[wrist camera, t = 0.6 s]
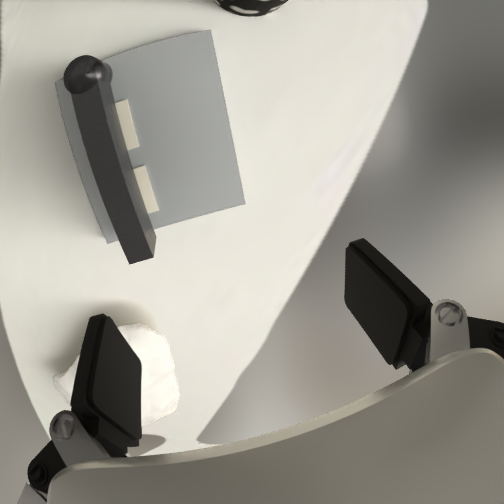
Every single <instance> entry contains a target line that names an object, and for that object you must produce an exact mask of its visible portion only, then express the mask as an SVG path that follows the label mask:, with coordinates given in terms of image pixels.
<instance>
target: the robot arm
mask: <svg viewBox="0 0 504 504" xmlns="http://www.w3.org/2000/svg"><path fill="white" fill-rule="evenodd" d="M345 259H346V261H345V296H344V298H345V303H346V305H347V307H348V309H349V310H350V311H351V313H352V314H353V315H354V317H355V318H356V320H357V321H358V322H359V324H360V325H361V327H362V328H363V329H364V331H365V332H366V334H367V335H368V336H369V338H370V339H371V341H372V342H373V343H374V345H375V346H376V348H377V349H378V351H379V352H380V353H381V355H382V356H383V358H384V359H385V361H386V362H387V363H388V364H389V365H391V364H392V365H393V366H394V368H395V369H396V370H397V369H398V368H400V367H402V366H404V365H407V366H408V368H409V369H410V371H409V375H407V376H405V377H403V378H402V379H400V380H398V381H396V382H394V383H392V384H390V385H388V386H386V387H384V388H382V389H380V390H378V391H376V392H374V393H372V394H370V395H368V396H366V397H364V398H361V399H359V400H357V401H355V402H353V403H351V404H348V405H346V406H343V407H341V408H339V409H337V410H334V411H332V412H329V413H326V414H324V415H321V416H319V417H316V418H313V419H311V420H308V421H305V422H302V423H299V424H296V425H294V426H290V427H287V428H285V429H281V430H278V431H275V432H271V433H268V434H264V435H260V436H257V437H253V438H249V439H245V440H241V441H238V442H233V443H228V444H223V445H219V446H214V447H208V448H203V449H197V450H191V451H184V452H177V453H169V454H160V455H150V456H138V457H131V456H130V455H129V454H128V453H127V447H136V446H139V439H141V437H142V426H141V378H142V364H141V361H140V359H139V357H138V356H137V355H136V353H135V352H134V351H133V349H132V348H131V346H130V345H129V344H128V342H127V341H126V339H125V338H124V337H123V335H122V334H121V332H120V331H119V329H118V328H117V326H116V325H115V323H114V322H113V320H112V319H111V318H110V317H109V316H106V315H105V314H99V315H95V316H92V317H90V319H89V322H88V326H87V329H86V333H85V337H84V340H83V344H82V348H81V352H80V357H79V361H78V366H77V370H76V375H75V380H74V385H73V391H72V396H71V402H70V406H71V407H72V408H71V411H69V410H64V411H60V412H59V413H57V414H56V415H55V416H54V417H53V419H52V421H51V423H50V428H49V431H50V436H51V439H52V440H51V441H50V442H49V443H48V444H47V445H46V446H45V447H44V448H43V449H42V451H40V453H39V454H38V455H37V456H36V457H35V458H34V459H33V460H32V461H31V463H30V464H29V467H28V479H29V482H30V484H29V483H26V485H25V487H24V489H23V491H22V494H21V496H20V498H19V501H18V503H17V504H504V323H501V322H497V321H491V320H485V319H478V318H474V317H468V316H467V314H466V311H465V309H464V308H463V307H462V305H460V304H459V303H458V302H456V301H454V300H449V299H442V300H439V301H437V302H436V303H434V305H433V304H432V303H431V302H430V299H429V298H427V296H426V295H425V294H424V293H422V292H421V291H420V289H419V288H418V287H417V286H416V285H414V284H413V283H412V282H411V281H410V280H409V279H408V278H407V277H406V276H405V275H404V274H403V273H402V272H401V271H400V270H399V269H397V267H396V266H394V265H393V264H392V263H391V262H390V261H389V260H388V259H387V258H386V257H384V256H383V255H382V254H381V253H380V252H379V251H378V250H377V249H376V248H375V247H373V246H372V245H371V244H370V243H369V242H368V241H366V240H365V239H364V238H362V239H359V240H356V241H353V242H350V243H349V247H347V248H346V258H345Z"/></svg>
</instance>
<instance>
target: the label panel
mask: <svg viewBox="0 0 504 504" xmlns="http://www.w3.org/2000/svg"><path fill="white" fill-rule="evenodd" d="M101 61H103V62H106V63H107V64H109V65H110V67H111V69H112V72H113V76H112V80H111V83H110V84H111V88H112V93H113V97H114V101H115V105H116V109H117V113H118V117H119V121H120V125H121V129H122V132H123V136H124V140H125V143H126V147H127V150H128V154H129V157H130V160H131V164H132V167H133V170H134V173H135V177H136V180H137V183H138V186H139V189H140V192H141V195H142V198H143V201H144V204H145V207H146V210H147V212H148V215H149V218H150V221H151V224H152V226H153V229H157V228H160V227H163V226H167V225H170V224H174V223H177V222H181V221H184V220H188V219H191V218H195V217H198V216H202V215H206V214H209V213H213V212H217V211H221V210H224V209H228V208H232V207H236V206H240V205H244V204H245V199H244V194H243V189H242V184H241V179H240V174H239V168H238V163H237V158H236V153H235V148H234V143H233V138H232V133H231V128H230V123H229V118H228V113H227V108H226V103H225V98H224V93H223V88H222V83H221V78H220V73H219V68H218V63H217V58H216V53H215V48H214V43H213V38H212V33H211V30H206V31H200V32H195V33H190V34H185V35H181V36H177V37H172V38H168V39H165V40H161V41H157V42H154V43H150V44H147V45H143V46H140V47H137V48H134V49H131V50H128V51H125V52H122V53H120V54H117V55H114V56H112V57H109V58H106V59H104V60H101ZM55 85H56V90H57V95H58V99H59V104H60V108H61V112H62V116H63V120H64V124H65V128H66V131H67V135H68V138H69V142H70V145H71V149H72V152H73V155H74V158H75V161H76V164H77V167H78V170H79V173H80V176H81V179H82V182H83V185H84V188H85V190H86V193H87V196H88V198H89V201H90V203H91V206H92V208H93V211H94V213H95V216H96V218H97V221H98V223H99V225H100V228H101V230H102V232H103V235H104V237H105V239H106V242H107V244H109V243H112V242H115V241H118V237H117V235H116V233H115V230H114V228H113V225H112V223H111V221H110V218H109V216H108V213H107V210H106V208H105V205H104V203H103V200H102V197H101V195H100V192H99V189H98V186H97V184H96V181H95V178H94V175H93V172H92V169H91V166H90V163H89V160H88V157H87V153H86V150H85V147H84V143H83V140H82V137H81V133H80V129H79V126H78V122H77V118H76V114H75V110H74V106H73V102H72V97H71V93H70V92H69V91H68V90H67V89H66V88H65V86H64V81H63V78H62V79H60V80H58V81H57V82H55Z"/></svg>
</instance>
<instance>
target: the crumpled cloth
mask: <svg viewBox="0 0 504 504" xmlns="http://www.w3.org/2000/svg"><path fill="white" fill-rule="evenodd" d="M117 328H118V329H119V331H120V332H121V334H122V335H123V337H124V338H125V339H126V341H127V342H128V344H129V345H130V346H131V348H132V349H133V351H134V352H135V353H136V355H137V356H138V357H139V359H140V361H141V364H142V378H141V426H142V427H143V426H144V425H146V424H148V423H152V422H154V421H155V420H157V419H159V418H162V417H164V416H167V415H169V414H171V413H172V412H174V411H175V410H176V408H177V404H178V403H177V402H178V401H179V397H180V396H179V394H180V392H179V388H178V383H177V379H176V377H175V374H174V367H175V365H174V361H173V358H172V356H171V354H170V347H169V344H168V342H167V340H166V338H165V336H164V335H162V334H160V333H158V332H156V331H154V330H152V329H150V328H149V327H147V326H146V325H144V324H141V323H136V324H131V325H122V326H118V327H117ZM79 357H80V354H79V355H78V357H77V358H76V360H75V362H74V363H73V364H72V366H71V367H69V369H68V371H67V372H64V373H63V374H61V375H58V376H54V377H53V381H54V385H55V387H56V389H57V390H58V391H59V392H60V393H61V394H62V395H63V397H64V398H65V400H66V402H67V403H68V404H69V405H70V402H71V396H72V391H73V385H74V380H75V375H76V370H77V366H78V361H79Z"/></svg>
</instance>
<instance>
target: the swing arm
mask: <svg viewBox="0 0 504 504" xmlns="http://www.w3.org/2000/svg"><path fill="white" fill-rule="evenodd" d="M112 76H113V72H112V69H111V67H110V65H109V64H107V63H106V62H103V61H101V60H99V59H97V58H95V57H93V56H89V55H83V56H80V57H78V58H76V59H74V60H73V61H72V62H71V63H70V64H69V65H68V67H67V68H66V70H65V73H64V78H63V81H64V86H65V88H66V89H67V90H68V91H69V92H70V93H71V97H72V102H73V106H74V110H75V114H76V118H77V122H78V126H79V129H80V133H81V137H82V140H83V143H84V147H85V150H86V153H87V157H88V160H89V163H90V166H91V169H92V172H93V175H94V178H95V181H96V184H97V186H98V189H99V192H100V195H101V197H102V200H103V203H104V205H105V208H106V210H107V213H108V216H109V218H110V221H111V223H112V225H113V228H114V230H115V233H116V235H117V237H118V240H119V242H120V244H121V246H122V249H123V251H124V253H125V255H126V258H127V260H128V262H129V264H133V263H136V262H140V261H143V260H147V259H150V258H153V257H154V250H155V243H156V235H155V232H154V229H153V226H152V224H151V221H150V218H149V215H148V212H147V210H146V207H145V204H144V201H143V198H142V195H141V192H140V189H139V186H138V183H137V180H136V177H135V173H134V170H133V167H132V164H131V160H130V157H129V154H128V150H127V147H126V143H125V140H124V136H123V132H122V129H121V125H120V121H119V117H118V113H117V109H116V105H115V101H114V97H113V93H112V88H111V84H110V83H111V80H112Z"/></svg>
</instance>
